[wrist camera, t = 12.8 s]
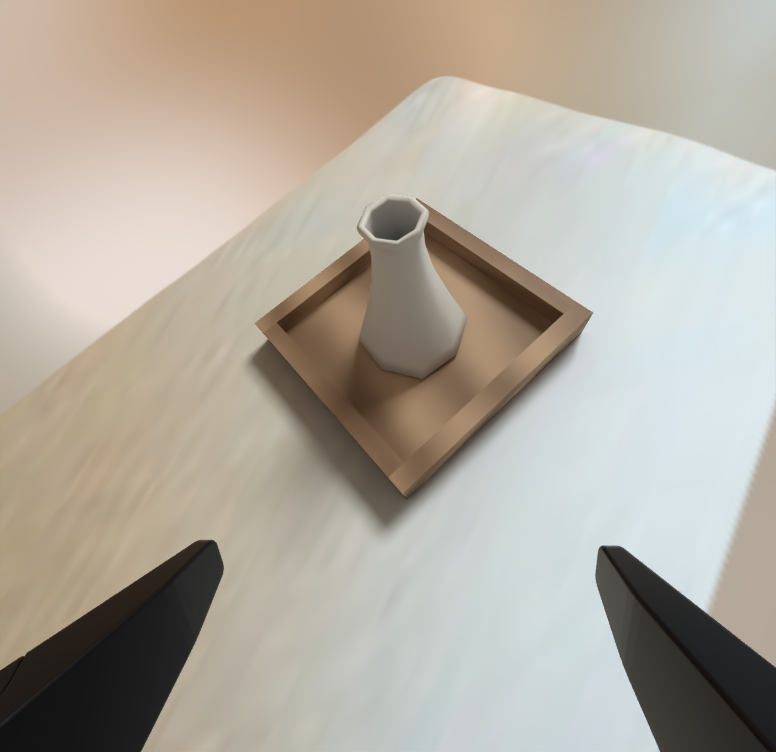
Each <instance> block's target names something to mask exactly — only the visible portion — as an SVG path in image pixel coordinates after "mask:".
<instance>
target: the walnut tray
mask: <svg viewBox="0 0 776 752" xmlns="http://www.w3.org/2000/svg"><path fill="white" fill-rule="evenodd" d="M416 200H417V201H418V202H419V203H420V204H422V205H423V206H424V207H425V208H426V209H428V211H429V217H428V220H427V223H426V225H425V228H424V238H425V245H426V248H427V251H428V254H429V257H430V259H431V262H432V265H433V267H434V269H435V271H436V272H437V274H438V275H439V277H440V278H441V280H442V282H443V283H444V285H445V286H446V288H447V290H448V291H449V293H450V294H451V295H452V297H453V298H454V300H455V301H456V302H457V304H458V305H459V307H460V308H461V309H462V311H463V312H464V314H465V315H466V317H467V322H466V325H465V328H464V332H463V335H462V339H461V342H460V346H459V349H458V353H457V355H455V356H454V357H452V358H451V359H450V360H448V361H447V362H445V363H444V364H443V365H441V366H440V367H438V368H437V369H436V370H434V371H433V372H431V373H430V374H428V375H427V376H426V377H424V378H423V379H421V378H417V377H412V376H408V375H404V374H400V373H395V372H391V371H387V370H383V369H381V368H380V367H379V366H378V364H377V363H376V362H375V361H374V359H373V358H372V357H371V356H370V354H369V353H368V352H367V350H366V349H365V348H364V347H363V345H362V344H361V343H360V342H359V337H360V332H361V328H362V324H363V320H364V316H365V312H366V308H367V303H368V297H369V292H370V287H371V282H372V267H371V253H370V249H369V246H368V242H367V241H366V240H365V239H363V240H362V241H361V242H359V243H358V244H357V245H355V246H354V247H353V248H352V249H350V250H349V251H348V252H346V253H345V254H344V255H343V256H341V257H340V258H339V259H337V260H336V261H335V262H333V263H332V264H331V265H330V266H328V267H327V268H326V269H324V270H323V271H322V272H320V273H319V274H318V275H317V276H315V277H314V278H313V279H311V280H310V281H309V282H308V283H306V284H305V285H304V286H302V287H301V288H300V289H298V290H297V291H296V292H295V293H293V294H292V295H291V296H289V297H288V298H287V299H285V300H284V301H283V302H282V303H280V304H279V305H278V306H276V307H275V308H274V309H273V310H271V311H270V312H269V313H267V314H266V315H265V316H263V317H262V318H261V319H260V320H258V321H257V322H256V323H255V324H256V325H257V327H258V328H259V329H260V330H261V331H262V332H263V334H264V335H265V336H266V337H267V338H268V339H269V341H270V342H271V343H272V344H273V345H274V346H275V347H276V349H277V350H278V351H279V352H280V353H281V354H282V356H283V357H284V358H285V359H286V360H287V361H288V362H289V364H290V365H291V366H292V367H293V368H294V369H295V371H296V372H297V373H298V374H299V375H300V376H301V377H302V379H303V380H304V381H305V382H306V383H307V384H308V386H309V387H310V388H311V389H312V390H313V391H314V393H315V394H316V395H317V396H318V397H319V398H320V399H321V401H322V402H323V403H324V404H325V405H326V406H327V408H328V409H329V410H330V411H331V412H332V413H333V414H334V416H335V417H336V418H337V419H338V420H339V421H340V423H341V424H342V425H343V426H344V427H345V428H346V429H347V431H348V432H349V433H350V434H351V435H352V436H353V438H354V439H355V440H356V441H357V442H358V443H359V444H360V446H361V447H362V448H363V449H364V450H365V451H366V453H367V454H368V455H369V456H370V457H371V458H372V460H373V461H374V462H375V463H376V464H377V465H378V466H379V468H380V469H381V470H382V471H383V472H384V473H385V475H386V476H387V477H388V478H389V479H390V480H391V481H392V483H393V484H394V485H395V486H396V487H397V488H398V490H399V491H400V492H401V493H402V494H403V495H404V496H405V497H406V499H407V498H408V497H409V496H411V495H412V494H413V493H414V492H415V491H416V490H417V489H418V488H419V487H420V486H421V485H422V484H423V483H424V482H425V481H426V480H427V479H428V478H429V477H430V476H431V475H432V474H434V473H435V472H436V471H437V470H438V469H439V468H440V467H441V466H442V465H443V464H444V463H445V462H446V461H447V460H448V459H449V458H450V457H451V456H452V455H453V454H454V453H455V452H457V451H458V450H459V449H460V448H461V447H462V446H463V445H464V444H465V443H466V442H467V441H468V440H469V439H470V438H471V437H472V436H473V435H474V434H475V433H476V432H477V431H479V430H480V429H481V428H482V427H483V426H484V425H485V424H486V423H487V422H488V421H489V420H490V419H491V418H492V417H493V416H494V415H495V414H496V413H497V412H498V411H499V410H500V409H502V408H503V407H504V406H505V405H506V404H507V403H508V402H509V401H510V400H511V399H512V398H513V397H514V396H515V395H516V394H517V393H518V392H519V391H520V390H521V389H522V388H523V387H525V386H526V385H527V384H528V383H529V382H530V381H531V380H532V379H533V378H534V377H535V376H536V375H537V374H538V373H539V372H540V371H541V370H542V369H543V368H544V367H545V366H546V365H548V364H549V363H550V362H551V361H552V360H553V359H554V358H555V357H556V356H557V355H558V354H559V353H560V352H561V351H562V350H563V349H564V348H565V347H566V346H567V345H568V344H570V343H571V342H572V341H573V340H574V339H575V338H576V337H577V336H578V335H579V334H580V333H581V332H582V331H583V329H584V327H585V326H586V324H587V322H588V321H589V319H590V317H591V316H592V314H593V312H591V311H590V310H588V309H586V308H585V307H583V306H582V305H580V304H579V303H577V302H576V301H574V300H573V299H571V298H570V297H568V296H566V295H565V294H563V293H562V292H560V291H559V290H557V289H556V288H554V287H553V286H551V285H550V284H548V283H546V282H545V281H543V280H542V279H540V278H539V277H537V276H536V275H534V274H533V273H531V272H529V271H528V270H526V269H525V268H523V267H522V266H520V265H519V264H517V263H516V262H514V261H513V260H511V259H509V258H508V257H506V256H505V255H503V254H502V253H500V252H499V251H497V250H496V249H494V248H493V247H491V246H489V245H488V244H486V243H485V242H483V241H482V240H480V239H479V238H477V237H476V236H474V235H473V234H471V233H469V232H468V231H466V230H465V229H463V228H462V227H460V226H459V225H457V224H456V223H454V222H453V221H451V220H449V219H448V218H446V217H445V216H443V215H442V214H440V213H439V212H437V211H436V210H434V209H433V208H431V207H429V206H428V205H426V204H425V203H423V202H422V201H420V200H419V199H417V198H416Z"/></svg>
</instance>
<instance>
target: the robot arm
mask: <svg viewBox="0 0 776 752" xmlns="http://www.w3.org/2000/svg"><path fill="white" fill-rule="evenodd" d="M223 570H224V565H223V561H222V558H221V555H220V552H219V549H218V546H217V543H216V542H215V541H214V540H198V541H196V542H194V543H193V544H191V545H190V546H188V547H187V548H185V549H184V550H182V551H181V552H179V553H178V554H176V555H175V556H173V557H172V558H170V559H168V560H167V561H165V562H164V563H162V564H161V565H159V566H158V567H156V568H155V569H153V570H152V571H150V572H149V573H147V574H146V575H144V576H143V577H141V578H140V579H138V580H137V581H135V582H134V583H132V584H131V585H129V586H128V587H126V588H125V589H123V590H122V591H120V592H118V593H117V594H115V595H114V596H112V597H111V598H109V599H108V600H106V601H105V602H103V603H102V604H100V605H99V606H97V607H96V608H94V609H93V610H91V611H90V612H88V613H87V614H85V615H84V616H82V617H81V618H79V619H78V620H76V621H75V622H73V623H72V624H70V625H68V626H67V627H65V628H64V629H62V630H61V631H59V632H58V633H56V634H55V635H53V636H52V637H50V638H49V639H47V640H46V641H44V642H43V643H41V644H40V645H38V646H37V647H35V648H34V649H32V650H31V651H29V652H28V653H27V654H26V655H25V656H22V657H20V658H18V659H17V660H15V661H14V662H12V663H11V664H9V665H8V666H6V667H5V668H3V669H2V670H0V752H141V751H142V749H143V747H144V745H145V743H146V741H147V739H148V737H149V735H150V733H151V731H152V729H153V727H154V725H155V723H156V721H157V719H158V717H159V715H160V713H161V711H162V709H163V707H164V705H165V703H166V701H167V699H168V697H169V695H170V693H171V691H172V689H173V687H174V685H175V683H176V681H177V679H178V677H179V675H180V673H181V671H182V669H183V667H184V665H185V663H186V661H187V659H188V657H189V655H190V653H191V650H192V648H193V646H194V644H195V642H196V640H197V638H198V635H199V633H200V631H201V628H202V626H203V623H204V621H205V618H206V616H207V613H208V611H209V608H210V605H211V603H212V600H213V598H214V595H215V593H216V590H217V588H218V585H219V583H220V580H221V578H222V575H223ZM595 576H596V583H597V587H598V590H599V593H600V596H601V600H602V603H603V606H604V609H605V612H606V615H607V618H608V621H609V624H610V627H611V630H612V633H613V636H614V639H615V643H616V646H617V649H618V652H619V655H620V658H621V660H622V663H623V666H624V669H625V671H626V673H627V676H628V678H629V681H630V683H631V685H632V688H633V690H634V692H635V695H636V697H637V699H638V701H639V704H640V706H641V708H642V711H643V713H644V715H645V718H646V720H647V722H648V725H649V727H650V729H651V731H652V734H653V736H654V738H655V741H656V743H657V745H658V748H659V750H660V752H776V667H774V666H773V665H772V664H771V663H769V662H768V661H767V660H765V659H764V658H763V657H762V656H760V655H759V654H758V653H757V652H755V651H754V650H753V649H751V648H750V647H749V646H748V645H746V644H745V643H744V642H742V641H741V640H740V639H738V638H737V637H736V636H735V635H734V634H732V633H731V632H730V631H729V630H727V629H726V628H725V627H723V626H722V625H721V624H720V623H718V622H717V621H716V620H715V619H713V618H712V617H711V616H709V615H708V614H707V613H706V612H704V611H703V610H702V609H700V608H699V607H698V606H697V605H695V604H694V603H693V602H692V601H690V600H689V599H688V598H686V597H685V596H684V595H683V594H681V593H680V592H679V591H678V590H676V589H675V588H674V587H672V586H671V585H670V584H669V583H667V582H666V581H665V580H664V579H662V578H661V577H660V576H658V575H657V574H656V573H655V572H653V571H652V570H651V569H650V568H648V567H647V566H646V565H644V564H643V563H642V562H641V561H639V560H638V559H637V558H636V557H634V556H633V555H632V554H630V553H629V552H628V551H627V550H625V549H624V548H622V547H620V546H601V547H600V548H599V550H598V556H597V565H596V574H595Z"/></svg>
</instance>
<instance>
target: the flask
mask: <svg viewBox="0 0 776 752" xmlns="http://www.w3.org/2000/svg"><path fill="white" fill-rule="evenodd" d="M428 217H429V211H428V209H426V208H425V207H424V206H423V205H422V204H420V203H419V202H418V201H417V200H416V199H415V198H413V197H412V196H403V195H393V194H386V195H385V196H383V197H382V198H380V199H378V200H377V201H375V202H374V203H372V204H370V205H369V206H367V207H366V208H365V210H364V212H363V214H362V216H361V219H360V221H359V223H358V225H357V231H358V232H359V234H360V235H361V236H362V237H363V238H364V239H365V240H366V241H367V242H368V246H369V249H370V253H371V267H372V282H371V287H370V292H369V297H368V303H367V308H366V312H365V316H364V320H363V324H362V328H361V332H360V337H359V342H360V343H361V344H362V345H363V347H364V348H365V349H366V350H367V352H368V353H369V354H370V356H371V357H372V358H373V359H374V361H375V362H376V363H377V364H378V366H379V367H380V368H381V369H383V370H387V371H391V372H395V373H400V374H404V375H408V376H412V377H417V378H421V379H423V378H424V377H426V376H427V375H428V374H430V373H431V372H433V371H434V370H436V369H437V368H438V367H440V366H441V365H443V364H444V363H445V362H447V361H448V360H450V359H451V358H452V357H454V356H455V355H457V353H458V349H459V346H460V342H461V339H462V335H463V332H464V328H465V325H466V322H467V317H466V315H465V314H464V312H463V311H462V309H461V308H460V307H459V305H458V304H457V302H456V301H455V300H454V298H453V297H452V295H451V294H450V293H449V291H448V290H447V288H446V286H445V285H444V283H443V282H442V280H441V278H440V277H439V275H438V274H437V272H436V271H435V269H434V267H433V265H432V262H431V259H430V257H429V254H428V251H427V248H426V245H425V238H424V228H425V225H426V223H427V220H428Z"/></svg>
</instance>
